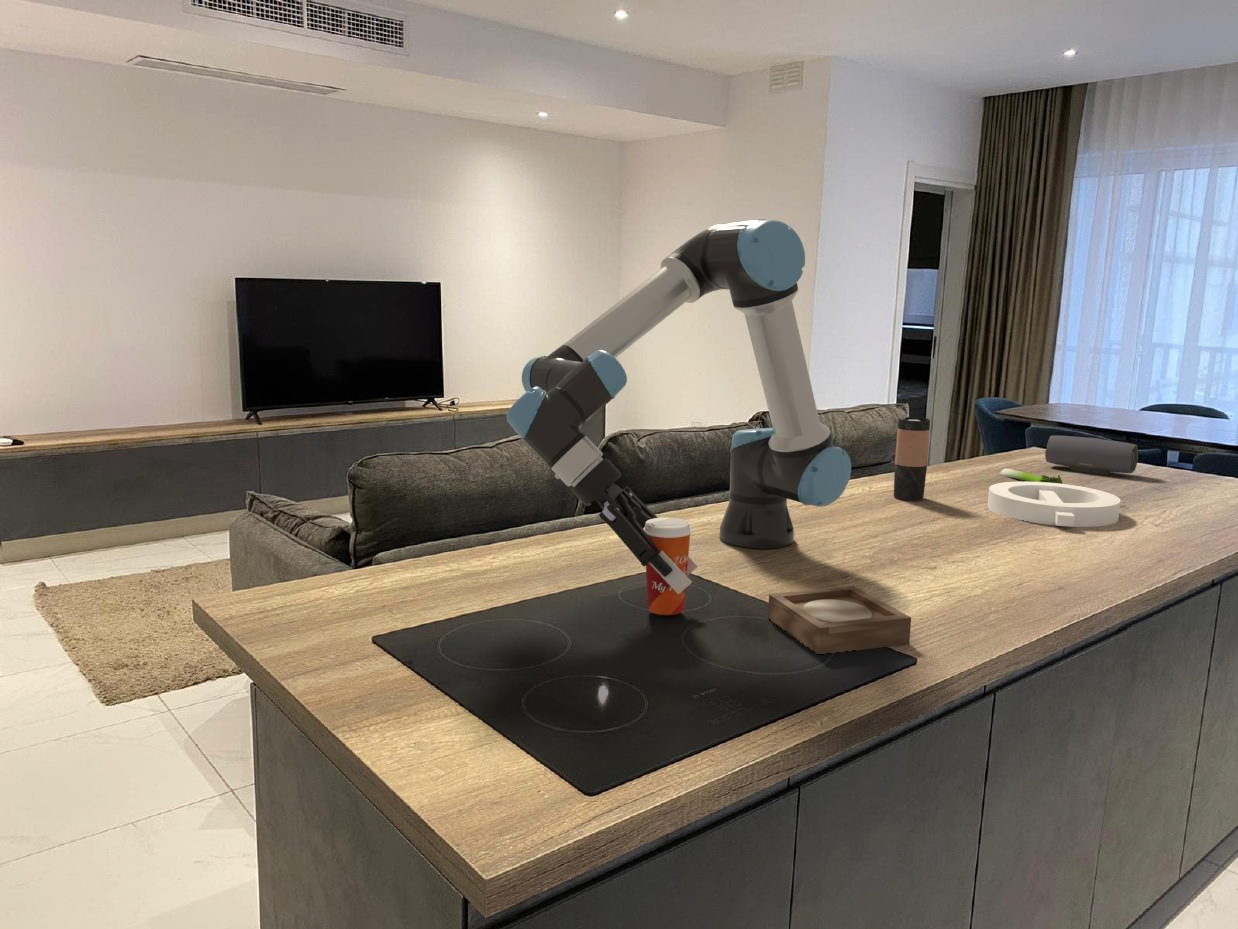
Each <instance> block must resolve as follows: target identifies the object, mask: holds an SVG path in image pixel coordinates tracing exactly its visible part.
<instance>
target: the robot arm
mask: <svg viewBox="0 0 1238 929" xmlns="http://www.w3.org/2000/svg"><path fill="white" fill-rule="evenodd" d="M805 265H806V253H805V247H804V245H803V242H802V240H801V238H800V236H799V234H798V233H797V232H796V231H795V229H793V228H792V227H791V226H790V225H788V224H786V222H783V221H780V220H775V219H765V218H764V219H762V218H761V219H760V218H758V219H755V220H744V221H738V222H737V221H735V222H730V223H729V222H726V223H719V224H715V225H712V226H708V227H707V228H706V229H704V230H702V231H700V232H699V233H697V234H695V235H694V236H693V237H691V238H690V239H688V240H687V241H685V242H684V243H682V245H680V246H679V247H678V248H676V249H675V250H674V251H672V252H670V253H669V255H667V256H666V257H665V258H664V259H662V261H661V263H660V268H659V270H657V271H656V272H654V274H652V275H650V277H648V278H647V279H645V280H644V281H642V283H641V284H639V285H638V286H636V287H635V288H634V289H632V290H631V291H630V292H629V293H628V294H626V295H624V297H622V298H621V299H620V300H619V301H617V302H616V303H615V304H614V305H612V306H610V308H608V309H607V310H605V311H604V312H603V313H602V314H600V315H599V316H598V317H597V318H595V319H594V320H593V321H592V322H590V323H589V324H588V325H585V327H584V328H583V329H581V330H580V331H579V332H577V333H576V334H575V335H574V336H572V337H571V338H569V339H568V340H567V341H566V342H564V343H563V344H562V345H560V346H559V347H557V348H556V349H555V350H554V351H552V352H551V353H550V354H549V355H540V356H538V357H534V358H532V359H530V360H528V361H527V363H526V364H525V366H524V367H523V370H522V372H521V383H522V386H523V389H524V391H525V393H524V394H522V395H521V396H520V397H519V398H518V399H517V400H516V401H515V402H514V403H513V404H512V405H511V407H510V408H509V409H508V411H507V413H506V421H507V423H508V424H509V425H510V426H511V428H512V430H514V431H515V432H516V434H517V435H518V436H519V438H520V439H521V440H522V441H523V442H524V443H525V444H527V445H528V447H530V449H532V451H533V452H535V454H536V455H537V456H538V457H539V458H540V459H541V460H542V461H543V462H544V463H545V464H546V465H547V467H549V469H551V470H552V472H554V473H555V474H554V478H555V479H556V480H561V481H562V482H563V483H564V484H565V485H566V486H567V487H570V486H572V487H573V488H572V493H573V495H575V496H576V497H577V498H578V500H579V501H581V503H582V504H583V505H585V507H589V506H591V505H592V504H593V503H594V502H595V501H596V502H597V503H598V505H599V506H600V508H601V509H602V511H601V512H600V513H598V517H599V518H600V519H601V520H602V521H604V523H606V525H608V526H609V528H611V529H612V531H613V532H614V533H615V534H616V535H617V537H618V538H619V539H620V540H621V541H622V543H623V544H624V546H626V547H627V548H628V549H629V551H630V552H631V553H632V554H633V555H634V557H635V558H636V559H637V560H638V561H639V562H640V564H641V566H643V567H645V568H646V565H647V564H648V563H649V564H650V565H651V566H652V567H653V568H654V569H655V570H656V571H657V572H658V573H659V574H660V576H661V577H662V578H663V579H664V580H665V581H666V582H667V583H668V584H669V585H670V586H671V587H672V588H673V589H674V590H675V591H676V592H677V594H679V593H681V592H682V591H683V590H684V589H685V588H688V587H689V586H690V585H691V584H692V582H693V581H692V580H691V579H690V578H689V577H688V576H689V575H690V574H691V573H692V572H694V571H695V570H696V569H697V568H698V567H699V564H698V563H697V562H696V561H695V560H694V559H693V558H692V557H691V556H690V555H689V554H688V567H687V576H686V575H685V574H684V573H683V572H682V571H681V570H680V569H679V568H678V566H677V565H676V564H675V563H674V562H673V561H672V560H671V559H670V558H669V557H668V556H667V555H666V554H665V553H664V552H663V551H661V552H660V551H659V550H658V548H657V547H656V546H655V544H654V543H653V542H652V540H651V539H650V538H649V536H648V535H647V534H646V532H645V531H644V530H643V528H644V527H645V523H646V521H648V520H650V519H654V518H659V517H658V516H657V515H656V514H655V513H654V512H653V511H652V510H651V509H650V508H649V507H648V506H647V505H646V504H645V503H643V501H642V500H641V499H640V498H639V497H637V495H636V494H635V492H634V491H632V489H631V488H630V487H629V486H625V487H624V488H623V489H622V488H621V487H620V486H619V485H618V484H616V483H615V482H616V481H617V480H618V479H619V478H620V477H621V476H622V473H621V471H620V470H619V469H618V468H617V467H616V466H615V465H614V464H613V463H612V462H611V461H610V460H609V458H603V457H602V456H603V454H604V453H603V452H602V451H601V449H599V448H598V447H597V445H595V444H594V443H593V441H591V439H590V438H589V437H588V436H586V434H585V433H584V432H583V431H582V430H581V427H583V426H584V425H585V424H586V423H587V422H588V421H589V420H590V419H592V417H593V416H595V415H596V414H597V413H598V412H599V411H601V410H602V409H603V408H604V407H605V406H607V404H608V403H610V402H611V400H614V399H615V397H616V396H617V394H619V393H620V392H621V391H622V390H623V389H624V388H625V386H626V385H627V382H628V377H627V376H628V375H627V373H626V371H625V369H624V368H623V366H622V364H621V362H620V361H619V360H618V359H617V358H618V357H619V356H620V355H621V354H622V353H624V352H625V351H626V350H627V349H629V348H630V347H631V346H632V345H634V344H635V343H636V342H637V341H638V340H640V339H641V338H643V336H645V335H647V333H649V332H650V331H651V330H653V329H654V328H655V327H656V326H657V325H659V324H660V323H661V322H663V321H664V320H665V319H667V318H668V317H669V316H670V315H671V314H673V313H674V312H675V311H677V310H678V309H679V308H680V307H682V305H684V304H685V303H689V304H693V303H696V302H697V301H698V300H699V299H700V298H702V297H703V296H705V295H707V294H709V293H713V292H717V291H720V290H728V291H729V293H730V297H731V301H732V306H733V309H736V310H738V311H739V312H741V313H743V315H744V318H745V322H746V325H747V329H748V334H749V336H750V341H751V346H752V350H753V353H754V357H755V362H756V365H757V368H758V373H759V376H760V381H761V386H762V388H763V389H762V390H763V393H764V397H765V401H766V406H767V409H768V413H769V418H770V422H771V425H772V427H766V428H765V427H763V428H750V429H749V428H747V429H740V430H736V431H735V432H734V433H733V435H732V438H731V446H730V450H729V451H730V462H729V463H730V469H729V473H730V474H729V501H728V505H727V507H726V510H725V513H724V515H723V517H722V519H721V520H722V521H721V523H720V526H719V539H720V540H721V541H722V542H724V543H726V544H729V545H733V546H736V547H742V548H749V549H777V548H785V547H788V546H790V545H791V544H793V543H794V540H795V532H794V531H795V529H794V525H793V522H792V519H791V515H790V511H789V507H788V500H790V501H794V502H797V503H801V504H803V505H805V506H814V507H817V508H818V507H821V508H822V507H827V506H828V505H831V504H833V503H835V502H836V501H838V500H839V498H840V497H841V496H842V495H843V493H844V492H845V490H846V487H847V486H848V484H849V482H850V478H851V474H852V462H851V458H850V456H849V453H847V451H846V450H843V449H842V448H841V447H839V446H835V445H834V441H833V436H832V432H831V429H830V427H829V426H828V425H826V424H824V423H822V422H821V420H820V418H819V413H818V409H817V408H818V407H817V404H816V400H815V396H814V395H815V394H814V392H813V387H812V382H811V378H810V373H809V369H808V365H807V362H806V356H805V352H804V348H803V343H802V340H801V335H800V330H799V326H798V321H797V318H796V314H795V313H796V312H795V309H794V304H793V300H794V298H795V296H796V295H797V294H798V292H799V286H798V282H799V281H800V279H801V277H802V275H803V273H804V271H803V268H804V267H805Z"/></svg>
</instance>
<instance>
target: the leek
mask: <svg viewBox="0 0 1238 929" xmlns="http://www.w3.org/2000/svg"><path fill="white" fill-rule="evenodd" d="M999 475H1000V476H1003V477H1006V478H1013V479H1017V480H1021V481H1024V482H1047V483H1059V484H1064V482H1063V479H1062V477H1061V475H1059V474H1058V475H1057V477H1055V476H1047V475H1045V474H1043V475H1041V476H1039V475H1035V474H1032V473H1028V472H1024V471H1020V470H1017V469H1012V468H1008V467H1007V468H1002V470H1001V471H1000V472H999Z"/></svg>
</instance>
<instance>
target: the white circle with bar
mask: <svg viewBox="0 0 1238 929" xmlns="http://www.w3.org/2000/svg"><path fill="white" fill-rule="evenodd" d="M987 508H988V510H990V511H991V512H994V514H995V513H996V514H997V513H998V514H997V515H1000V516H1003V517H1006V518H1009V517H1010V519H1013V518H1014V520H1018V521H1022V520H1024V522H1027V521H1028V523H1034V524H1040V525H1046V526H1047V525H1048V526H1057V527H1072V528H1075V527H1076V528H1077V527H1078V528H1087V527H1088V528H1091V527H1093V528H1094V527H1105V526H1110V525H1114V524H1116V523H1117V522H1118V521H1119V517H1120V508H1121V499H1120V497H1118V496H1117V495H1115V494H1113V493H1109V492H1107V491H1103V490H1100V489H1095V488H1090V487H1086V486H1080V485H1075V484H1066V483H1063V484H1059V483H1047V482H1029V481H1005V482H998V483H994V484H992V485H990V486H989V488H988V496H987Z"/></svg>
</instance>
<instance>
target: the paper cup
mask: <svg viewBox="0 0 1238 929" xmlns="http://www.w3.org/2000/svg"><path fill="white" fill-rule="evenodd" d="M643 530H644V531H645V532H646V534H647V535H648V536H649V538H650V539H651V540H652V542H653V543H654V544H655V546H656V547H657V548H658V550H659V551H660V552H661V551H663V552H664V553H665V554H666V555H667V556H668V557H669V558H670V559H671V560H672V561H673V562H674V563H675V564H676V565H677V566H678V568H679V569H680V570H681V571H682V572H683V573H684V574H685V575H686V576H687V567H688V555H689V554H690V540H691V534H693V529H692V528H691V525H690V523H689V521H687V520H685V519H683V518H678V517H676V518H675V517H658V518H654V519H650V520H648V521H646V523H645V527H644V528H643ZM645 573H646V576H645V577H646V592H647V593H646V594H647V596H646V597H647V607H648V611H649V612H650V613H652V614H655V615H659V616H674V615H679V614H681V613H683V612H684V609H685V600H686V588H687V587H686V588H685V589H684V590H683V591H682V592H681V593H679V594H677V592H676V591H675V590H674V589H673V588H672V587H671V586H670V585H669V584H668V583H667V582H666V581H665V580H664V579H663V578H662V577H661V576H660V574H659V573H658V572H657V571H656V570H655V569H654V568H653V567H652V566H651V565H650V564H649V563H648V564H647V565H646V566H645ZM687 577H688V576H687Z"/></svg>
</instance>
